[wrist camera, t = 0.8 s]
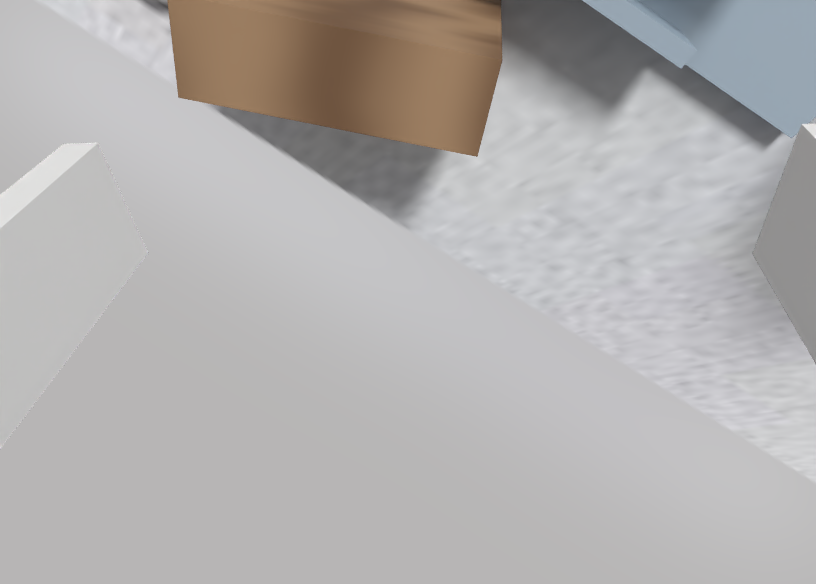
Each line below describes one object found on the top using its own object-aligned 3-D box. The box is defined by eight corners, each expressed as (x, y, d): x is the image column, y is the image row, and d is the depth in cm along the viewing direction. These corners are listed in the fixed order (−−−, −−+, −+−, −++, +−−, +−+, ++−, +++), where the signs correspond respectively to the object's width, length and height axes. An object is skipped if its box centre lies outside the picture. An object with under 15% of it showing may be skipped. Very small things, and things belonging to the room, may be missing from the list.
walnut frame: (250, 34, 27) (178, 101, 21) (248, -55, 24) (166, -8, 18) (480, 80, 27) (476, 160, 21) (500, -4, 25) (502, 59, 19)
